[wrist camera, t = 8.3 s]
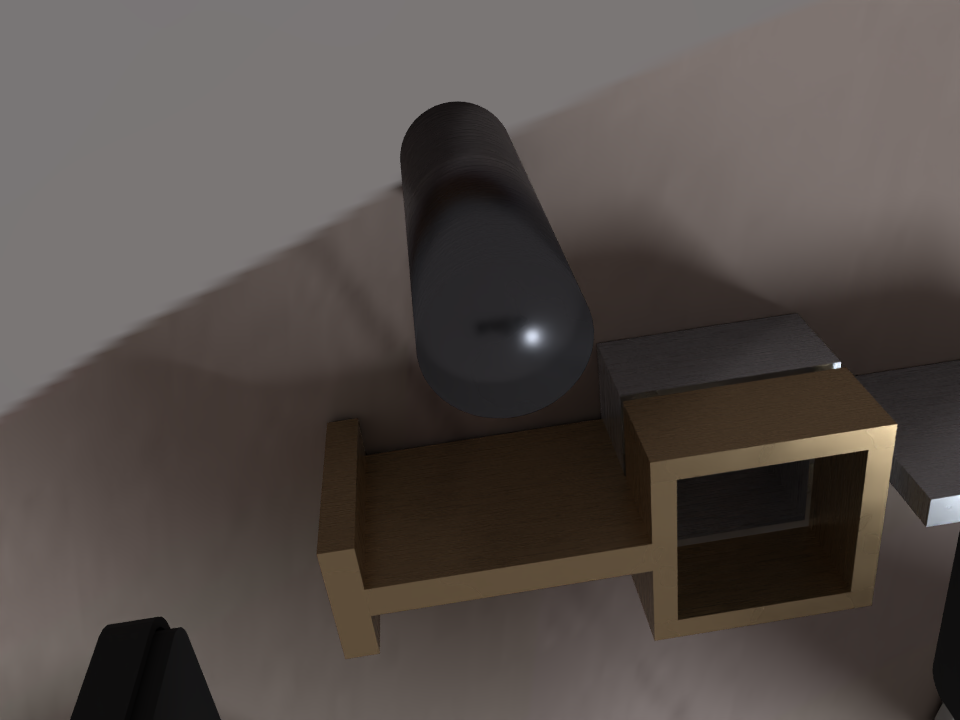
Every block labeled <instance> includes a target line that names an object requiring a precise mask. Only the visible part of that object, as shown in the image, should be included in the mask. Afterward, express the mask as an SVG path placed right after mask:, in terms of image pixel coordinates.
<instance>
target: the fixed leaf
mask: <svg viewBox="0 0 960 720" xmlns="http://www.w3.org/2000/svg"><path fill="white" fill-rule="evenodd" d="M597 354H598V371H599V389H600V406H601V419H603V422H604V424H605V427H606V429H607V432H608V434H609V437H610V439H611V442H612V444H613V447H614V449H615V452H616V454H617V457H618V459H619V462H620V464H621V467H622V469H623V472H624V474H625V477H626V465H625V442H624V419H623V401H629V400H635V399H642V398H648V397H655V396H661V395H668V394H674V393H681V392H687V391H694V390H700V389H707V388H713V387H719V386H726V385H732V384H739V383H745V382H752V381H758V380H765V379H771V378H778V377H784V376H791V375H797V374H804V373H810V372H817V371H823V370H830V369H836V368H841V361H840V360H839V359H838V358H837V357H836V356H835V355H834V353H833V352H832V351H831V350H830V349H829V348H828V347H827V346H826V345H825V344H824V342H823V341H822V340H821V339H820V338H819V337H818V336H817V335H816V334H815V332H814V331H813V330H812V329H811V328H810V327H809V326H808V325H807V324H806V323H805V321H804V320H803V319H802V318H801V317H800V316H799V315H798V314H797V313H795V314H789V315H782V316H775V317H769V318H762V319H756V320H749V321H743V322H736V323H729V324H723V325H716V326H710V327H703V328H696V329H690V330H683V331H677V332H670V333H664V334H657V335H650V336H644V337H637V338H631V339H624V340H618V341H611V342H604V343H598V344H597ZM854 377H855V378H856V379H857V380H858V381H859V382H860V383H861V384H862V386H863V387H864V388H865V389H866V390H867V391H868V392H869V393H870V394H871V395H872V397H873V398H874V399H875V400H876V401H877V402H878V403H879V404H880V405H881V407H882V408H883V409H884V410H885V411H886V412H887V413H888V414H889V415H890V416H891V418H892V419H893V420H894V421H895V422H896V423H897V430H896V437H895V444H894V451H893V458H892V465H891V472H890V480H889V482H890V483H891V484H892V485H893V487H894V488H895V489H896V490H897V492H898V493H899V494H900V495H901V496H902V498H903V499H904V500H905V501H906V503H907V504H908V505H909V506H910V508H911V509H912V510H913V511H914V513H915V514H916V515H917V516H918V517H919V519H920V520H921V521H922V522H923V524H924V525H925V526H926V527H930V526H936V525H943V524H949V523H955V522H960V360H957V361H950V362H944V363H937V364H931V365H924V366H918V367H911V368H905V369H898V370H892V371H885V372H879V373H872V374H866V375H860V376H854ZM814 459H815V458H813V459H807V460H800V461H794V462H787V463H781V464H775V465H768V466H762V467H756V468H749V469H743V470H737V471H730V472H724V473H717V474H711V475H705V476H698V477H692V478H686V479H679V480H677V547H679V546H686V545H692V544H698V543H705V542H711V541H717V540H723V539H730V538H736V537H742V536H748V535H755V534H761V533H767V532H773V531H780V530H786V529H792V528H799V527H805V526H809V515H810V504H811V493H812V481H813V470H814Z"/></svg>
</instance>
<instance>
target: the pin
mask: <svg viewBox="0 0 960 720" xmlns="http://www.w3.org/2000/svg"><path fill="white" fill-rule="evenodd" d="M400 162H401V174H402V186H403V198H404V209H405V221H406V233H407V245H408V257H409V269H410V280H411V292H412V304H413V316H414V328H415V339H416V351H417V358H418V362H419V366H420V369H421V371H422V373H423V376H424V377H425V379H426V381H427V382H428V384H429V385H430V387H431V388H432V389H433V390H434V392H435V393H436V394H437V395H439V396H440V397H441V398H442V399H443V400H444V401H446V402H447V403H449V404H450V405H452V406H453V407H455V408H457V409H459V410H461V411H464V412H467V413H469V414H473V415H477V416H481V417H488V418H509V417H517V416H521V415H526V414H529V413H532V412H535V411H537V410H540V409H542V408H544V407H546V406H548V405H550V404H551V403H553V402H555V401H556V400H557V399H559V398H560V397H561V396H563V395H564V394H565V393H566V392H567V391H568V390H569V389H570V388H571V387H572V386H573V385H574V384H575V383H576V381H577V380H578V379H579V378H580V376H581V374H582V373H583V371H584V370H585V367H586V365H587V363H588V361H589V358H590V355H591V352H592V347H593V341H594V328H593V320H592V317H591V313H590V310H589V308H588V306H587V303H586V301H585V299H584V297H583V295H582V293H581V290H580V288H579V286H578V284H577V282H576V280H575V277H574V275H573V273H572V271H571V269H570V267H569V265H568V262H567V260H566V258H565V256H564V254H563V252H562V249H561V247H560V245H559V243H558V241H557V239H556V237H555V234H554V232H553V230H552V228H551V226H550V224H549V221H548V219H547V217H546V215H545V213H544V211H543V208H542V206H541V204H540V202H539V200H538V198H537V196H536V193H535V191H534V189H533V187H532V185H531V183H530V180H529V178H528V176H527V174H526V172H525V170H524V168H523V165H522V163H521V161H520V159H519V157H518V155H517V152H516V150H515V148H514V146H513V144H512V142H511V140H510V137H509V135H508V133H507V131H506V129H505V127H504V126H503V125H502V123H501V122H500V121H499V120H498V118H497V117H495V116H494V115H493V114H492V113H490V112H489V111H488V110H486V109H484V108H482V107H480V106H478V105H475V104H472V103H467V102H448V103H443V104H440V105H437V106H434V107H432V108H430V109H428V110H427V111H425V112H424V113H423V114H421V115H420V116H419V117H418V118H417V119H416V120H415V121H414V122H413V124H411V126H410V127H409V129H408V131H407V133H406V135H405V137H404V140H403V143H402V147H401V154H400Z"/></svg>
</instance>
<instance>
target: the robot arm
mask: <svg viewBox="0 0 960 720" xmlns="http://www.w3.org/2000/svg"><path fill="white" fill-rule="evenodd" d="M933 678H934V682H935V686H936V689H937V691H938V694H939V696H940V698H941V699H942V701H943V704H942V705H941V707H940V709H939V711H938V713H937V715H936V717H935V720H960V532H959V537H958V542H957V547H956V552H955V557H954V562H953V567H952V572H951V577H950V582H949V587H948V592H947V597H946V602H945V608H944V613H943V618H942V623H941V628H940V633H939V638H938V643H937V648H936V653H935V658H934V663H933ZM70 720H221V719H220V716H219V713H218V711H217V708H216V706H215V703H214V701H213V698H212V696H211V693H210V691H209V688H208V686H207V683H206V680H205V678H204V675H203V673H202V670H201V668H200V665H199V663H198V660H197V658H196V655H195V652H194V650H193V647H192V645H191V642H190V640H189V637H188V635H187V633H186V631H185V630H184V629H183V628H182V627H180V628H173V629H170V627H169V625H168V623H167V621H166V620H165V619H164V618H163V617H154V618H148V619H142V620H135V621H129V622H123V623H117V624H110V625H107V626H106V627H105V628H104V629H103V630H102V632H101V634H100V636H99V638H98V641H97V644H96V647H95V650H94V653H93V656H92V658H91V661H90V664H89V667H88V670H87V673H86V676H85V679H84V682H83V684H82V687H81V690H80V693H79V696H78V699H77V702H76V705H75V707H74V710H73V713H72V716H71V719H70Z"/></svg>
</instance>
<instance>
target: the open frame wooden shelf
mask: <svg viewBox="0 0 960 720" xmlns="http://www.w3.org/2000/svg"><path fill="white" fill-rule="evenodd" d="M623 419H624V442H625V465H626V477H625V474H624V472H623V469H622V467H621V464H620V462H619V459H618V457H617V454H616V452H615V449H614V447H613V444H612V442H611V439H610V437H609V434H608V432H607V429H606V427H605V424H604V422H603V419H597V420H591V421H584V422H578V423H571V424H565V425H558V426H552V427H545V428H539V429H533V430H526V431H520V432H513V433H507V434H500V435H494V436H487V437H481V438H474V439H468V440H461V441H455V442H448V443H442V444H436V445H429V446H423V447H416V448H410V449H403V450H397V451H390V452H384V453H377V454H371V455H366V453H365V448H364V444H363V439H362V434H361V430H360V425H359V421H358V418H355V419H349V420H342V421H336V422H329V423H327V433H326V445H325V458H324V470H323V482H322V495H321V507H320V520H319V532H318V544H317V557H318V561H319V565H320V568H321V572H322V576H323V579H324V583H325V587H326V590H327V594H328V598H329V601H330V605H331V608H332V612H333V616H334V619H335V623H336V627H337V630H338V634H339V638H340V641H341V645H342V649H343V652H344V656H345V659H349V658H355V657H361V656H368V655H374V654H380V615H381V614H387V613H393V612H400V611H406V610H412V609H418V608H424V607H431V606H437V605H443V604H449V603H456V602H462V601H468V600H474V599H481V598H487V597H493V596H499V595H506V594H512V593H518V592H524V591H531V590H537V589H543V588H549V587H556V586H562V585H568V584H574V583H581V582H587V581H593V580H599V579H606V578H612V577H618V576H624V575H632V578H633V581H634V583H635V586H636V589H637V592H638V595H639V598H640V600H641V603H642V606H643V609H644V612H645V615H646V617H647V620H648V623H649V626H650V629H651V632H652V634H653V637H654V640H655V641H656V640H662V639H669V638H675V637H681V636H687V635H693V634H699V633H705V632H712V631H718V630H724V629H730V628H736V627H742V626H749V625H755V624H761V623H767V622H773V621H779V620H785V619H792V618H798V617H804V616H810V615H816V614H822V613H829V612H835V611H841V610H847V609H853V608H859V607H865V606H872V599H873V592H874V585H875V578H876V571H877V564H878V557H879V550H880V543H881V536H882V529H883V522H884V515H885V508H886V501H887V494H888V487H889V480H890V472H891V465H892V458H893V451H894V444H895V437H896V430H897V423H896V422H895V421H894V420H893V419H892V418H891V416H890V415H889V414H888V413H887V412H886V411H885V410H884V409H883V408H882V407H881V405H880V404H879V403H878V402H877V401H876V400H875V399H874V398H873V397H872V395H871V394H870V393H869V392H868V391H867V390H866V389H865V388H864V387H863V386H862V384H861V383H860V382H859V381H858V380H857V379H856V378H855V377H854V376H853V374H852V373H851V372H850V371H849V370H848V369H847V368H846V367H843V368H836V369H830V370H823V371H817V372H810V373H804V374H797V375H791V376H784V377H778V378H771V379H765V380H758V381H752V382H745V383H739V384H732V385H726V386H719V387H713V388H707V389H700V390H694V391H687V392H681V393H674V394H668V395H661V396H655V397H648V398H642V399H635V400H629V401H623ZM813 458H815V459H814V470H813V481H812V493H811V504H810V515H809V526H805V527H799V528H792V529H786V530H780V531H773V532H767V533H761V534H755V535H748V536H742V537H736V538H730V539H723V540H717V541H711V542H705V543H698V544H692V545H686V546H679V547H677V480H679V479H686V478H692V477H698V476H705V475H711V474H717V473H724V472H730V471H737V470H743V469H749V468H756V467H762V466H768V465H775V464H781V463H787V462H794V461H800V460H807V459H813Z"/></svg>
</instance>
